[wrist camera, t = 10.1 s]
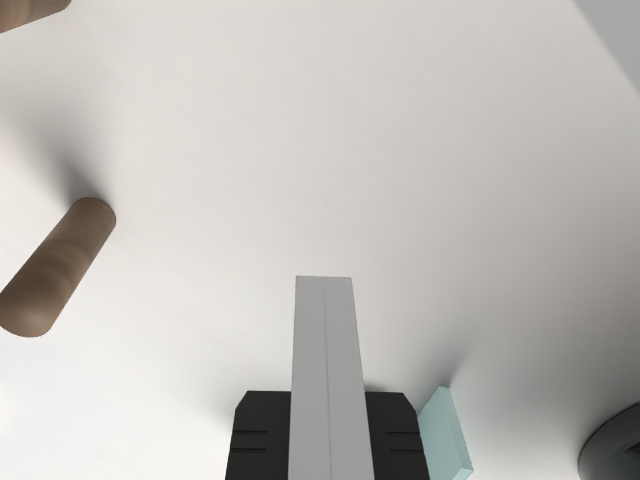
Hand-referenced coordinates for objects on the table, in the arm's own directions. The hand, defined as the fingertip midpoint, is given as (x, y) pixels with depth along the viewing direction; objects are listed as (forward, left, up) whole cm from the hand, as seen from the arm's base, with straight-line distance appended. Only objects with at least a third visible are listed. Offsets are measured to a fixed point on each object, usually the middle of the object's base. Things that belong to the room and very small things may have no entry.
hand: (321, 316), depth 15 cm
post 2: (+13, +6, -16) cm, 21 cm away
